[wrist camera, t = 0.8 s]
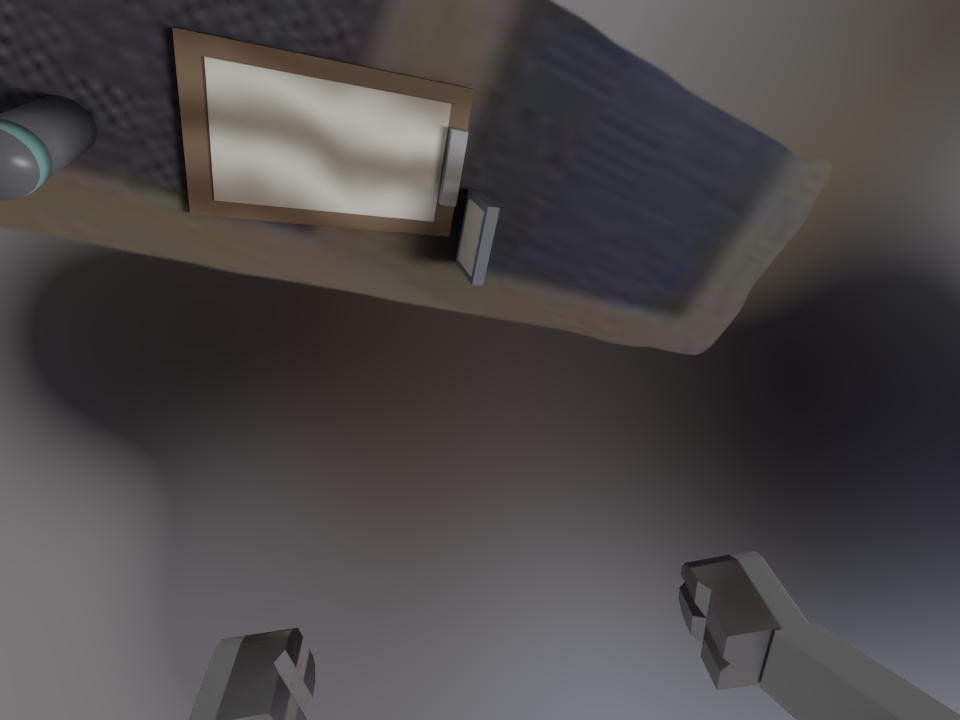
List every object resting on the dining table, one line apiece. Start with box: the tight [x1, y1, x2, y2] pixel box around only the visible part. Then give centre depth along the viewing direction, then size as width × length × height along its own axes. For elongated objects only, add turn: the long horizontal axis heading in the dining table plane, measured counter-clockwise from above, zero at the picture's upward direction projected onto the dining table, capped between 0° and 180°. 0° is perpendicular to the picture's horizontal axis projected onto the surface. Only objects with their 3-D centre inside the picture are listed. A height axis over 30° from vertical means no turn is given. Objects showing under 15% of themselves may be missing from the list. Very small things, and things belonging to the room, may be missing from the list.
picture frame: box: [455, 189, 500, 285], centre depth 52 cm, size 8×1×6 cm, turn 167°
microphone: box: [0, 95, 97, 200], centre depth 34 cm, size 4×4×13 cm
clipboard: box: [172, 27, 474, 237], centre depth 45 cm, size 14×24×2 cm, turn 77°
